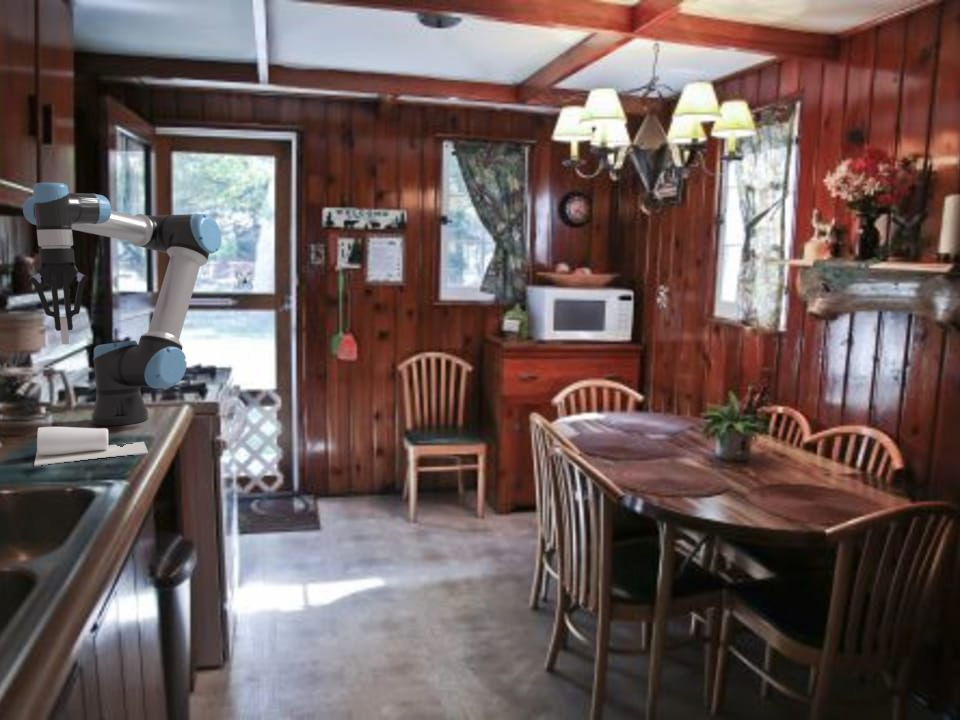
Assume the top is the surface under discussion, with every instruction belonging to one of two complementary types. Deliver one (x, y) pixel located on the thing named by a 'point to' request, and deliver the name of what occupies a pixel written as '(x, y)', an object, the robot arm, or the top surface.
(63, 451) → the white cup
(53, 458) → the rubber mat
